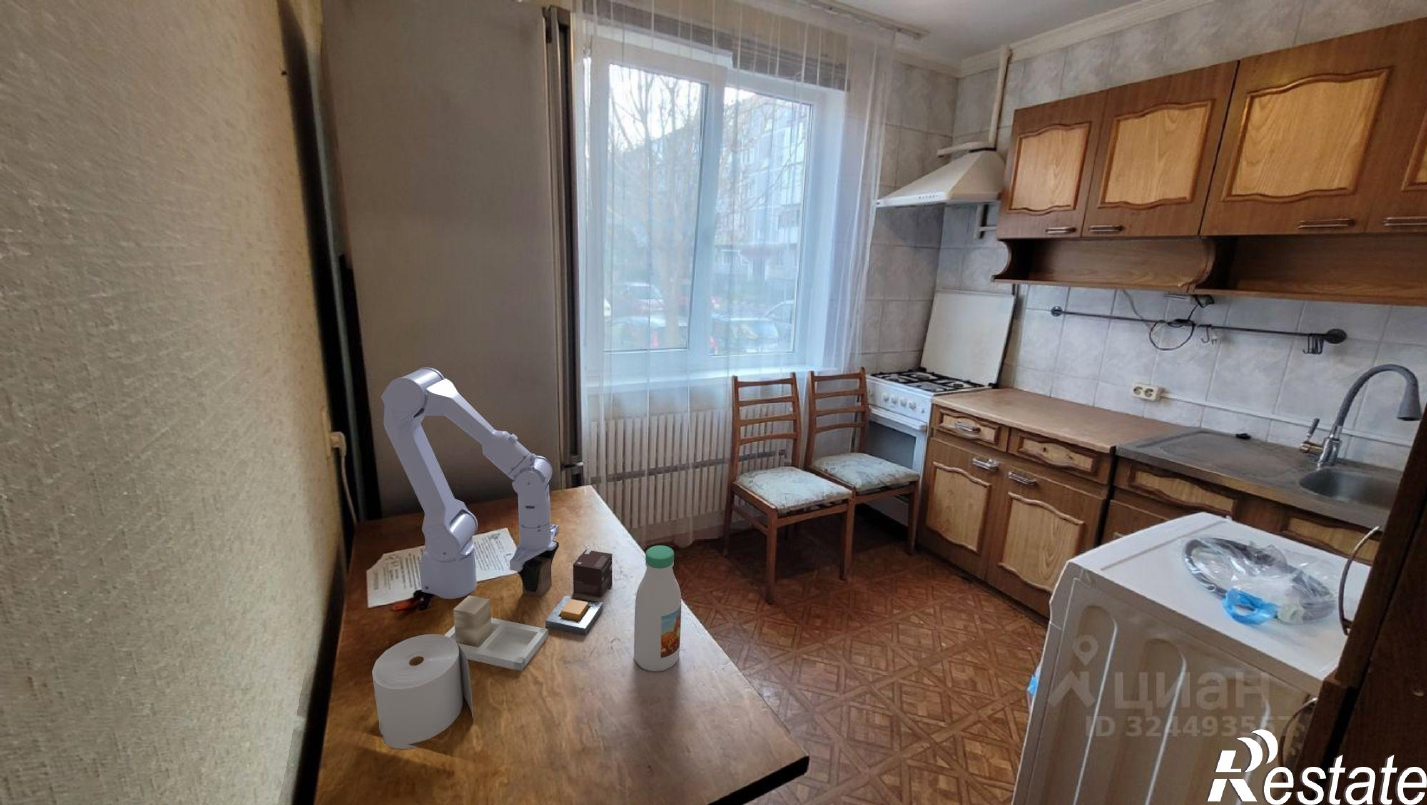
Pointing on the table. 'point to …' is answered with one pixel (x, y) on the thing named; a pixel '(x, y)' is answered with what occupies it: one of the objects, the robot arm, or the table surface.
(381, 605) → the table surface
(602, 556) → the box
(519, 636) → the light grey rectangular frame
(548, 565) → the block
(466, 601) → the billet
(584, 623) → the button housing
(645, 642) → the milk bottle
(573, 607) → the button
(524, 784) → the table surface
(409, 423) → the robot arm
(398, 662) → the toilet tissue
